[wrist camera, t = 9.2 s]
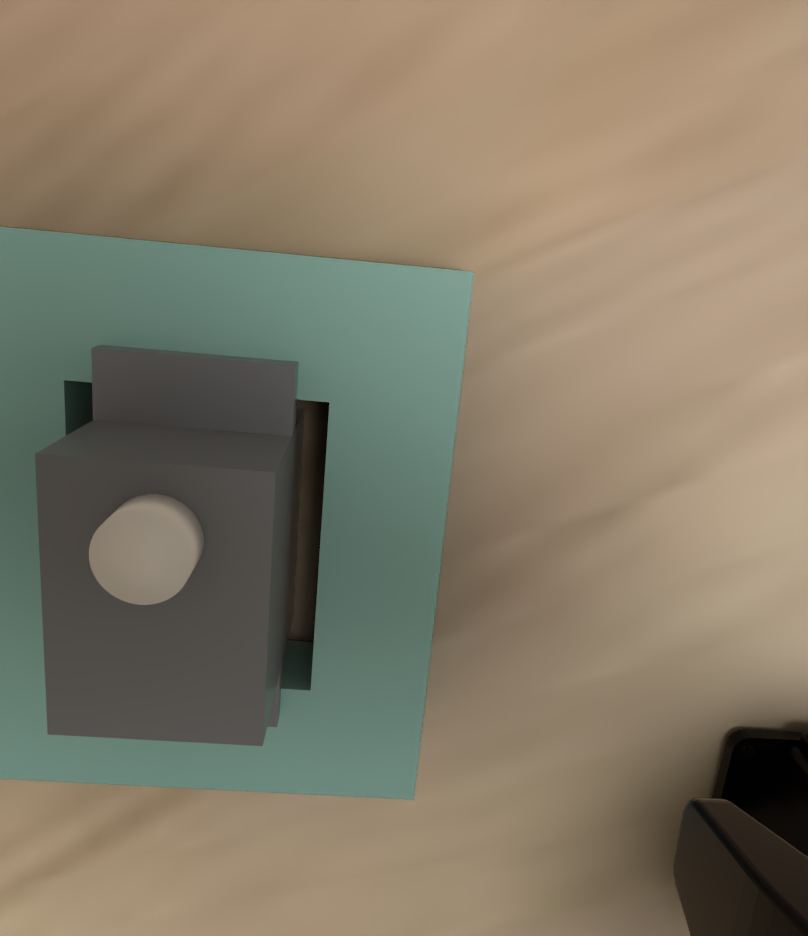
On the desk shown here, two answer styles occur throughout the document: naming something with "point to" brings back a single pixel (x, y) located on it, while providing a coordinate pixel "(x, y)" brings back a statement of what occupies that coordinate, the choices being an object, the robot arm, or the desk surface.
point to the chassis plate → (344, 500)
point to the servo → (171, 548)
